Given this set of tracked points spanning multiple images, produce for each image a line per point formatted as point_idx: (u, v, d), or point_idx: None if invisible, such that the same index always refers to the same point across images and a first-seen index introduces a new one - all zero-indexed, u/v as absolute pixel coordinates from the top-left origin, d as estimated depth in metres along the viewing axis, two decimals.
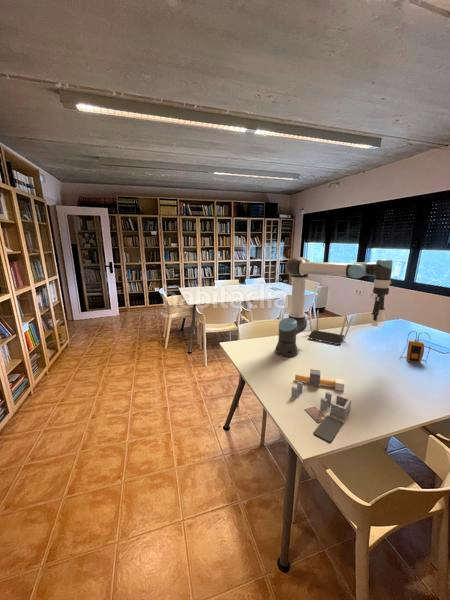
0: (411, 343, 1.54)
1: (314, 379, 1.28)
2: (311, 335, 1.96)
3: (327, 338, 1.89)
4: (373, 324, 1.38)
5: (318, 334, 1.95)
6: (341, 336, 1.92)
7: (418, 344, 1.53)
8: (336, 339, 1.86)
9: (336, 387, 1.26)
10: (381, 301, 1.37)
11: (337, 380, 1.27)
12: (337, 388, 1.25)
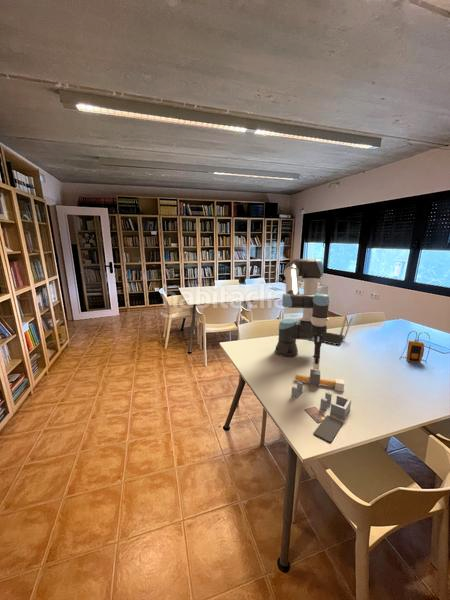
0: (411, 343, 1.54)
1: (314, 379, 1.28)
2: None
3: (326, 338, 1.88)
4: (315, 367, 1.22)
5: None
6: (341, 336, 1.91)
7: (418, 344, 1.53)
8: (336, 339, 1.85)
9: (336, 387, 1.26)
10: (320, 341, 1.23)
11: (337, 380, 1.27)
12: (337, 388, 1.25)
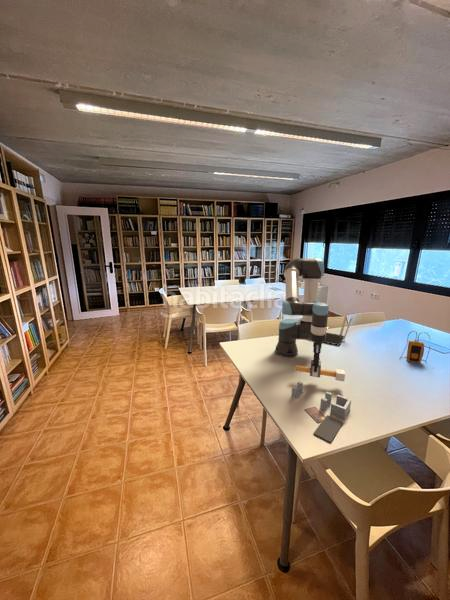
0: (411, 343, 1.54)
1: None
2: None
3: (326, 338, 1.88)
4: (313, 375, 1.28)
5: None
6: (341, 336, 1.91)
7: (418, 344, 1.53)
8: (336, 340, 1.85)
9: (337, 377, 1.25)
10: (319, 350, 1.25)
11: (338, 370, 1.27)
12: (338, 378, 1.25)
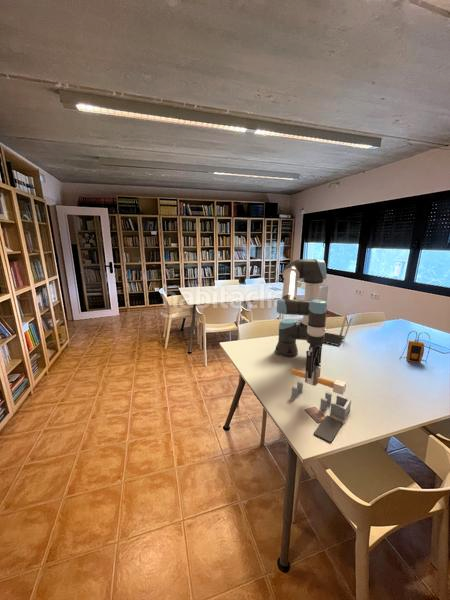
0: (411, 343, 1.54)
1: None
2: None
3: (326, 338, 1.88)
4: (308, 382, 1.13)
5: None
6: (340, 337, 1.91)
7: (418, 344, 1.53)
8: (336, 340, 1.85)
9: (334, 389, 1.07)
10: (315, 353, 1.10)
11: (337, 381, 1.08)
12: (335, 390, 1.07)
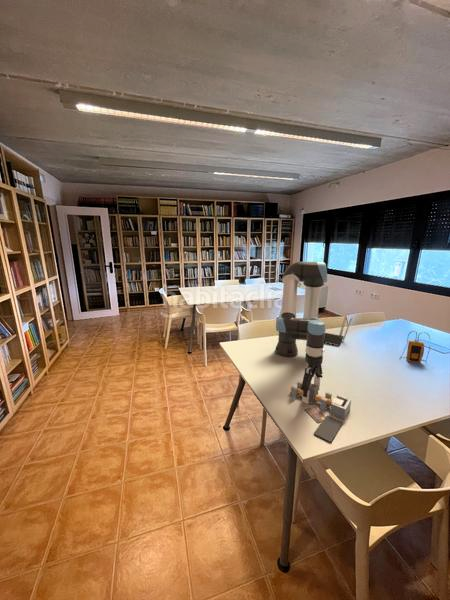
0: (411, 343, 1.54)
1: None
2: None
3: (326, 339, 1.87)
4: (304, 400, 1.12)
5: None
6: (340, 337, 1.90)
7: (418, 344, 1.53)
8: (336, 340, 1.84)
9: None
10: (313, 372, 1.11)
11: (335, 400, 1.10)
12: None
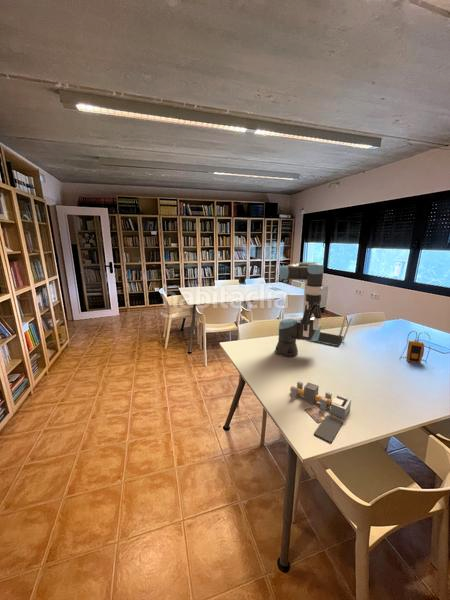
0: (411, 343, 1.54)
1: (308, 394, 1.15)
2: None
3: (325, 339, 1.87)
4: (304, 334, 1.26)
5: None
6: (340, 337, 1.89)
7: (418, 344, 1.53)
8: (335, 340, 1.84)
9: None
10: (312, 309, 1.25)
11: (335, 400, 1.10)
12: None
